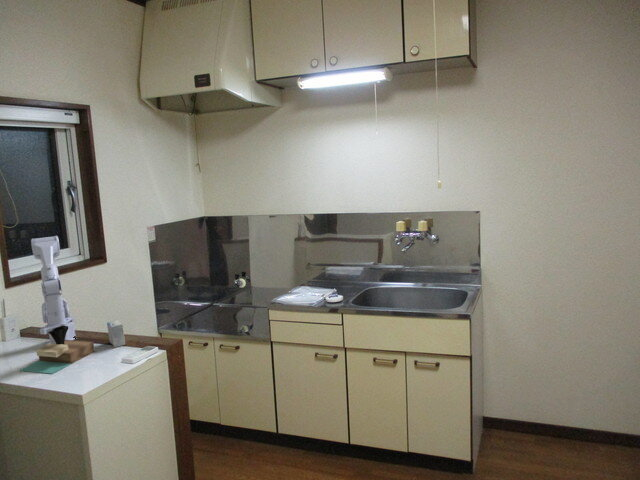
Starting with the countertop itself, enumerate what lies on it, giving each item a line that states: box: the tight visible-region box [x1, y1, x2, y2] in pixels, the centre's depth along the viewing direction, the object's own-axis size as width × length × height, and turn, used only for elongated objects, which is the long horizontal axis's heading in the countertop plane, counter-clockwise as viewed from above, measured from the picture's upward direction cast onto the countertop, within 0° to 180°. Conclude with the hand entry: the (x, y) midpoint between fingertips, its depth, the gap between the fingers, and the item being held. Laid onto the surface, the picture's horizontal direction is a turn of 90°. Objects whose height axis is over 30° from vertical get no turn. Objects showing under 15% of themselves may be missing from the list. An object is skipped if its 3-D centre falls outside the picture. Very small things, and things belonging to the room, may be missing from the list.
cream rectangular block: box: [35, 342, 69, 357], centre depth 194 cm, size 6×9×2 cm, turn 72°
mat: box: [19, 360, 72, 375], centre depth 191 cm, size 9×15×1 cm, turn 72°
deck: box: [38, 339, 95, 365], centre depth 200 cm, size 12×15×4 cm
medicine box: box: [106, 319, 126, 348], centre depth 210 cm, size 8×4×9 cm, turn 34°
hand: (60, 346), depth 197 cm, fingers closed
